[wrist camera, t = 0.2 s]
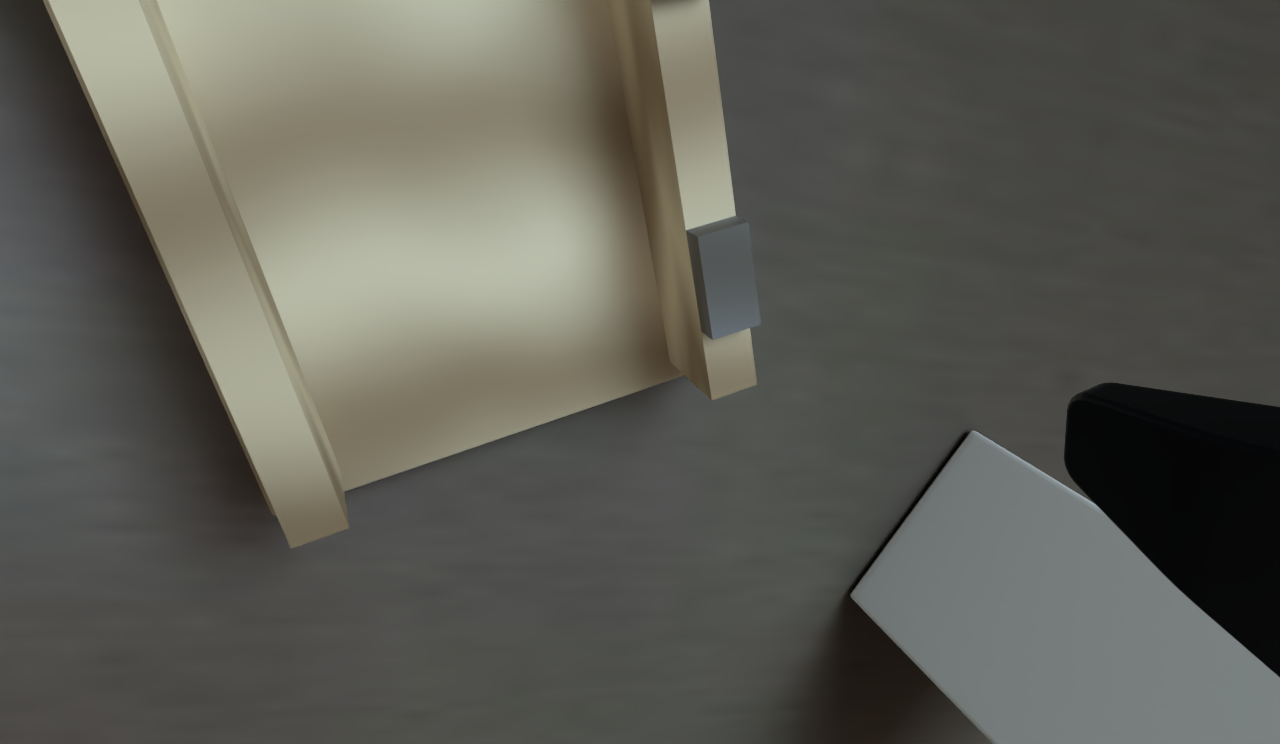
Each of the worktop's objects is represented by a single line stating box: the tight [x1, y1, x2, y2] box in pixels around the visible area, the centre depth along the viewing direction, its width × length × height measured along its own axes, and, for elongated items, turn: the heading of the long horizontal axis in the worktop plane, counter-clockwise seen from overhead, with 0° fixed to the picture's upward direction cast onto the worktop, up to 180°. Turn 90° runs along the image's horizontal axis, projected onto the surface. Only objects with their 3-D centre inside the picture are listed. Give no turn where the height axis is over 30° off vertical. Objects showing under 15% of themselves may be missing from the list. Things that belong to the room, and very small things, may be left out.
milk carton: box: [850, 431, 1280, 744], centre depth 23 cm, size 7×7×19 cm
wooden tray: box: [43, 0, 761, 549], centre depth 18 cm, size 14×12×4 cm
